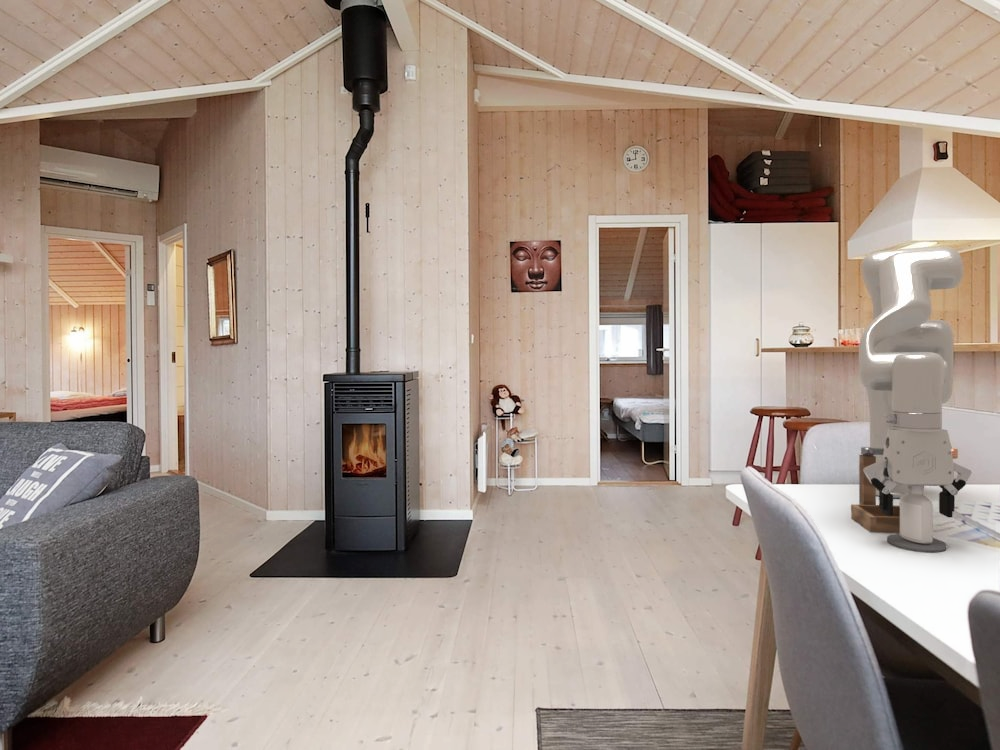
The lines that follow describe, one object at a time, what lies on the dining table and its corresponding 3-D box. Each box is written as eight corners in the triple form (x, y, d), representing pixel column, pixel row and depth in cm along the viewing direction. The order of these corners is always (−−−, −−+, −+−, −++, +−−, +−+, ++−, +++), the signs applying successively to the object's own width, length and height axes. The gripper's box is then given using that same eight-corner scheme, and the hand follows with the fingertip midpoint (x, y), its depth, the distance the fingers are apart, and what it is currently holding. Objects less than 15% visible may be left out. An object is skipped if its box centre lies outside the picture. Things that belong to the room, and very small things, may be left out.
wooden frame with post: (840, 510, 135) (840, 454, 135) (890, 512, 133) (890, 454, 133) (870, 532, 119) (870, 468, 119) (927, 534, 117) (927, 469, 117)
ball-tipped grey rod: (862, 455, 132) (862, 447, 132) (859, 454, 134) (859, 446, 134) (959, 458, 126) (959, 450, 126) (955, 456, 128) (955, 448, 128)
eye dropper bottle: (905, 542, 110) (905, 476, 110) (898, 535, 115) (898, 471, 115) (934, 545, 108) (934, 477, 108) (925, 537, 113) (925, 473, 113)
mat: (878, 536, 117) (878, 533, 117) (931, 537, 115) (931, 534, 115) (900, 551, 108) (900, 548, 108) (957, 553, 106) (957, 550, 106)
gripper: (872, 424, 108) (872, 518, 109) (982, 424, 105) (981, 521, 106) (856, 419, 116) (856, 508, 116) (958, 419, 113) (958, 510, 113)
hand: (916, 514), depth 111 cm, fingers open, 9 cm apart
